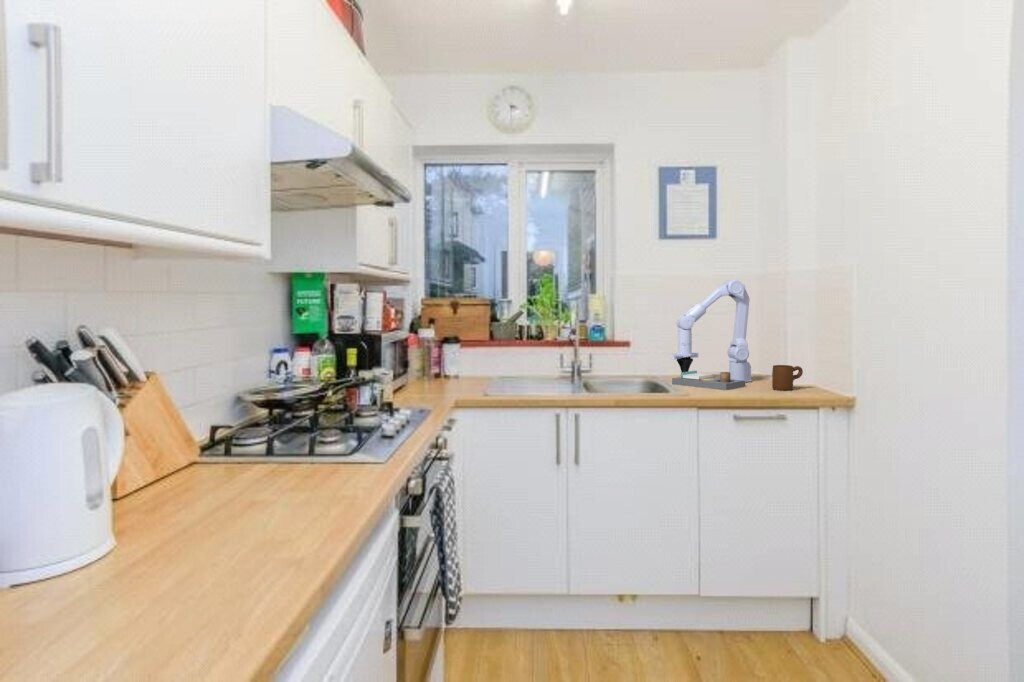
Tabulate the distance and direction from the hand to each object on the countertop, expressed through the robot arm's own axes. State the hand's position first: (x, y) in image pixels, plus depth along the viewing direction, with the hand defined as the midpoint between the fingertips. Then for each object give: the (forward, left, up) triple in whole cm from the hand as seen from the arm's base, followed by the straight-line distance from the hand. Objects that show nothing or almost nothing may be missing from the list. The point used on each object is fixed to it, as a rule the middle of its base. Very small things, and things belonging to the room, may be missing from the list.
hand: (684, 374), depth 277 cm
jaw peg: (0, +20, -3) cm, 20 cm away
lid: (0, +6, -1) cm, 6 cm away
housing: (0, +12, -3) cm, 12 cm away
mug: (-11, +40, -4) cm, 42 cm away
